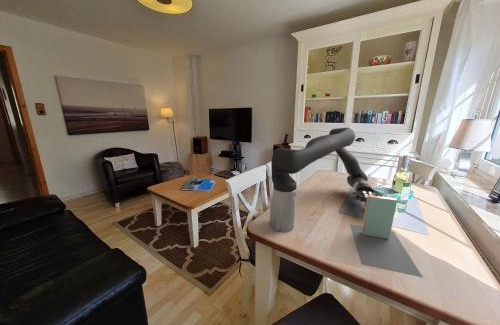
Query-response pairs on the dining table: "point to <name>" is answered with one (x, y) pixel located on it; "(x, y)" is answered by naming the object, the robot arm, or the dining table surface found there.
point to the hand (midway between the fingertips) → (371, 204)
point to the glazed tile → (379, 216)
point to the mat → (383, 252)
